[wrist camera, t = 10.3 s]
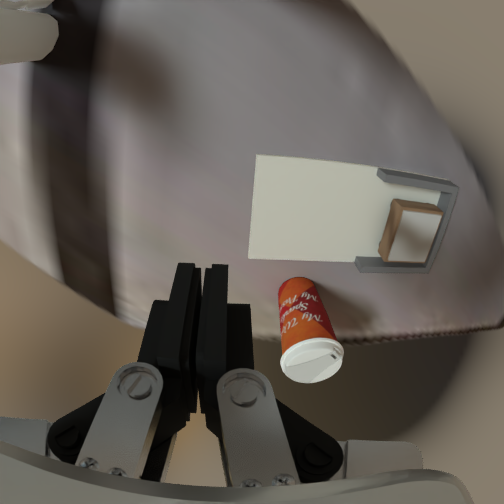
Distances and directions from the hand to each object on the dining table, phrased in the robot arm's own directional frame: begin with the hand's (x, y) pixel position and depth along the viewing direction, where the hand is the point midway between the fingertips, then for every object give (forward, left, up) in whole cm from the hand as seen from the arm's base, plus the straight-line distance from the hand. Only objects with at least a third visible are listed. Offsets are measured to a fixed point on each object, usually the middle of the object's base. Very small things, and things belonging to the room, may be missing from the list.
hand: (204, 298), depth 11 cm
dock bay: (+9, +17, -27) cm, 33 cm away
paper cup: (+22, +11, -27) cm, 37 cm away
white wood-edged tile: (+10, +25, -27) cm, 37 cm away
